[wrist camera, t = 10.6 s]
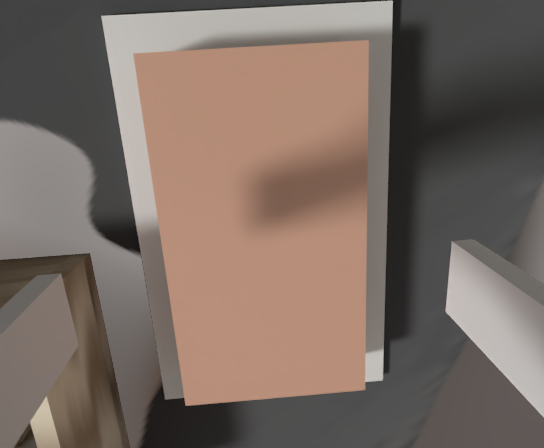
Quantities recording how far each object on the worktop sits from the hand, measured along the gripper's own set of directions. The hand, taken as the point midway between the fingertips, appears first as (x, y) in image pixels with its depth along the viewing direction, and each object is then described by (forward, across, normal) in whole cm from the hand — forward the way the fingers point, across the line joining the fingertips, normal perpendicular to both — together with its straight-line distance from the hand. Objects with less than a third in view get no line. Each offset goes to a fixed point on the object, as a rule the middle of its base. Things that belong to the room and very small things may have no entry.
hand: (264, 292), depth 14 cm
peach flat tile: (+9, 0, -1) cm, 9 cm away
